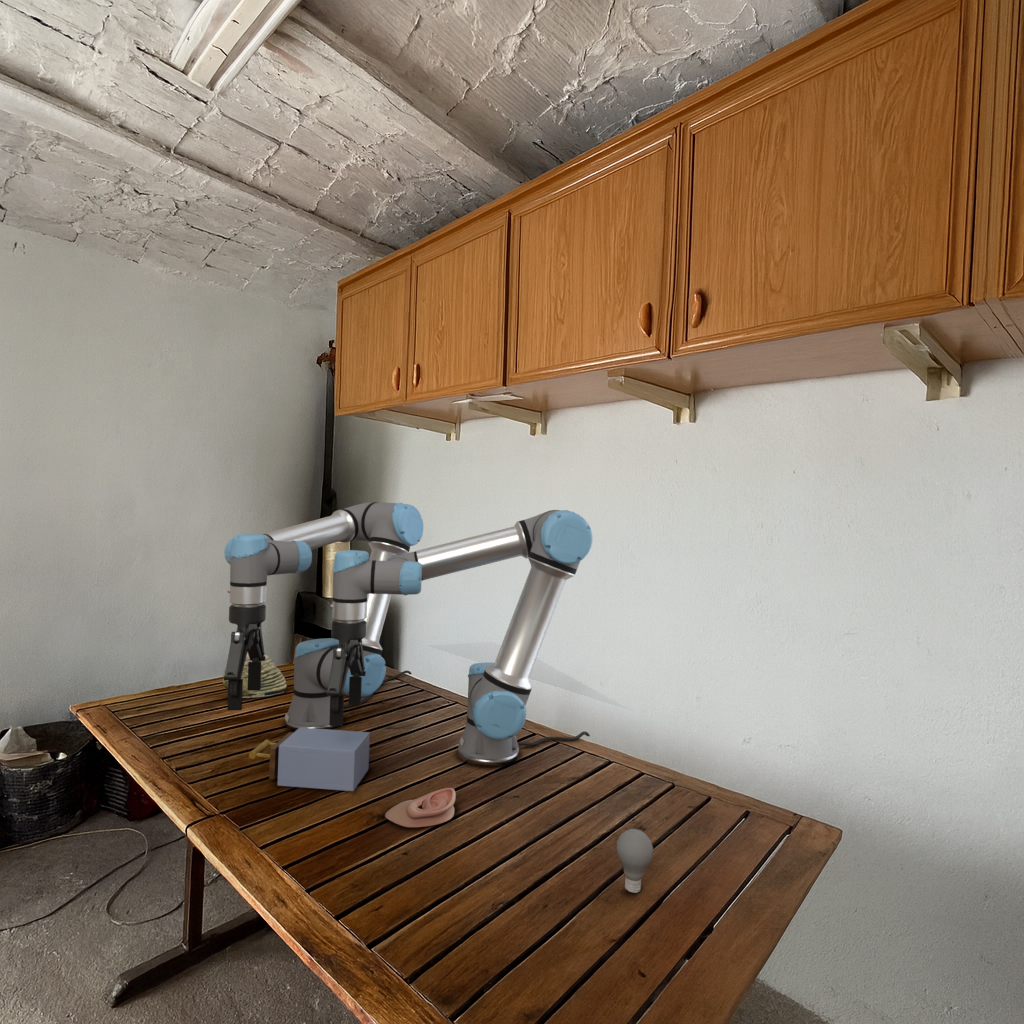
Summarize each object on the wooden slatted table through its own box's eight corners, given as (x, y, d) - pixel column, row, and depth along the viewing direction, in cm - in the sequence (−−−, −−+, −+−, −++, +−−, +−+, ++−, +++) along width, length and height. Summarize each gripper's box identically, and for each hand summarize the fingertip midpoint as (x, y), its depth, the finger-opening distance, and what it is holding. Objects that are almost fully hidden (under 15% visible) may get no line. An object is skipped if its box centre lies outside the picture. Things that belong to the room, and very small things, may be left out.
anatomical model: (379, 803, 124) (401, 778, 135) (378, 823, 124) (400, 796, 135) (444, 812, 121) (461, 786, 132) (443, 833, 121) (460, 805, 132)
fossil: (218, 695, 195) (220, 647, 195) (278, 685, 208) (279, 640, 207) (228, 703, 189) (230, 653, 188) (289, 692, 201) (290, 645, 201)
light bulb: (610, 879, 108) (613, 822, 108) (644, 879, 109) (647, 822, 109) (619, 902, 102) (622, 840, 102) (655, 901, 103) (658, 840, 103)
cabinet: (277, 785, 138) (278, 745, 138) (298, 764, 149) (299, 727, 149) (353, 791, 137) (354, 750, 137) (368, 769, 148) (369, 732, 148)
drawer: (245, 777, 139) (246, 746, 139) (265, 758, 149) (266, 730, 149) (338, 784, 138) (339, 753, 138) (352, 765, 148) (353, 736, 148)
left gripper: (247, 594, 152) (244, 682, 152) (209, 614, 127) (206, 719, 128) (279, 595, 153) (277, 682, 153) (247, 615, 128) (244, 719, 128)
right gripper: (349, 609, 154) (346, 696, 154) (312, 630, 129) (309, 734, 129) (379, 611, 153) (376, 698, 154) (349, 632, 128) (345, 736, 129)
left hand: (244, 699), depth 140 cm, fingers open, 13 cm apart
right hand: (345, 714), depth 141 cm, fingers open, 13 cm apart
